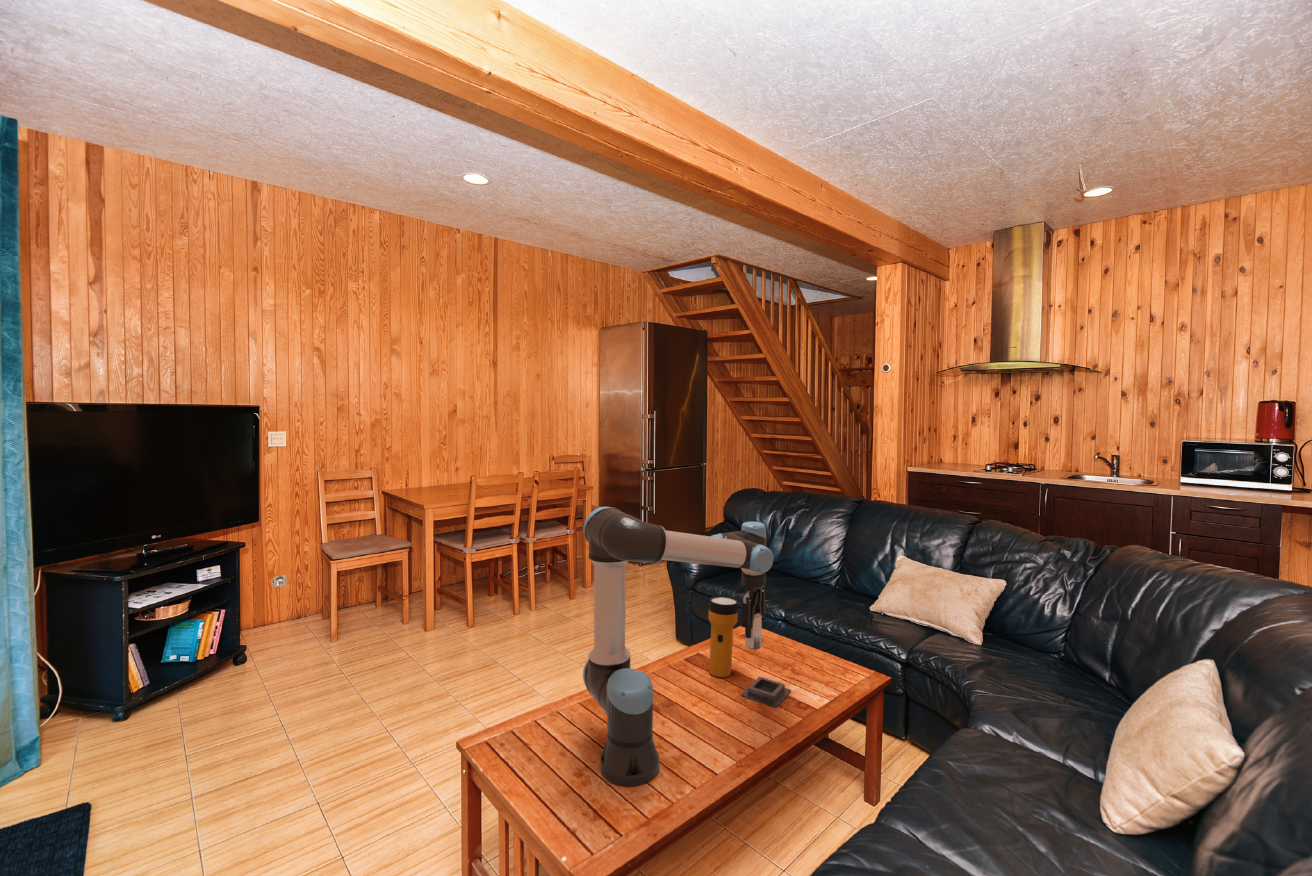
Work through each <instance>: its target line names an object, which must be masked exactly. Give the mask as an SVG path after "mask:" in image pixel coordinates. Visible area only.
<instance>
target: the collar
mask: <svg viewBox="0 0 1312 876" xmlns="http://www.w3.org/2000/svg"><path fill="white" fill-rule="evenodd" d="M791 692H792V689H790V688H787V687H786V684H785V683H781V682H779V681H775V680H771V679H769V678H766V677H763V676H758V677H757V678H756V679H755V680H754V681H753V682H751V684H750V685H749V686H748V687H747V688H746V689H745V690H744V691H742V693H741V694H740V696H741V697H743V698H746V699H748V700H752V701H754V702H758V703H761V704H762V705H763V704H764V705H767V706H769V707H772V708H775V709H776V708H778V707H779V706H780V704H782V702H783V701H784V700H785V699H786V698H787V697H788V696H789V694H790V693H791Z"/></svg>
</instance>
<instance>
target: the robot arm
mask: <svg viewBox="0 0 1312 876" xmlns="http://www.w3.org/2000/svg"><path fill="white" fill-rule="evenodd" d="M582 533H583V536H584V539H585V540H586V542H587V543H588V560H589V561H590V562H591V563H592V564H593V567H594V568H593V571H594V573H593V576H594V577H593V578H594V579H593V581H594V582H593V585H594V587H593V588H594V592H593V601H594V602H593V606H594V607H593V621H594V622H593V648H592V649H591V650H590V651H589V653H588V655H587V656H588V660H587V661H586V662H585V664H584V666H583V670H582V678H583V684H584V685H585V688H586V690H587V692H588V693H589V694H590V696H592V697H593V698H594V700H595V701H596V702H597V704H598V705H599V707H600V708H601V709H602V711H604V713H605V714H606V719H607V721H606V722H607V724H606V725H607V726H606V728H607V730H606V732H607V735H606V736H607V737H606V741H605V743H604V747H603V750H602V751H601V752H602V753H601V757H600V764H599V765H600V767H599V768H600V772H601V775H602V777H604V779H606V781H608V782H610V783H612V784H615V785H618V786H623V787H635V786H636V787H637V786H641V785H644V784H646V783H648V782H650V781H651V780H652V779H654V778H655V777H656V776H657V774H658V773H659V770H660V755H659V752H658V751H657V748H656V745H655V741H654V737H653V732H654V731H653V730H654V729H653V728H654V723H653V722H654V721H653V720H654V696H655V695H654V686H653V681H652V680H651V678H650V677H649V676H648V674H646V672H643V671H642V670H637V669H635V668H631V652H630V650H629V649H628V648H627V647H626V567H627V563H628V562H636V563H637V562H638V563H639V562H640V563H650V564H651V563H653V564H658V563H660V562H661V561H672V562H673V561H674V562H678V563H679V562H681V563H691V564H698V565H699V564H700V565H710V566H716V567H717V566H719V567H729V568H737V569H741V584H742V585H743V586H745V592H744V596H743V595H741V596H740V603H741V614H740V615H741V618H740V619H741V620H740V622H741V623H740V624H741V625H740V626H741V627H742V628H744V647H745V648H747V647H749V648H754V627H753V618H754V611H757V612H759V613H760V614H761V635H762V634H763V633H762V626H763V625H762V622H765V620H766V618H765V616H766V590H767V589H766V588H767V587H766V583H767V573H766V572H768V571H769V570H770V569H771V568H772V567H773V562H774V553H773V551H772V550H771V549H770V548H769V547H767V538H768V537H767V528H766V525H765V524H764V523H763V522H759V521H746V522H743V523H742V524H741V530H739V531H731V532H724V533H721V532H720V533H718V534H713V535H710V536H707V535H702V534H701V535H700V534H695V533H694V534H693V533H686V532H682V531H681V532H679V531H672V530H666V529H665V528H664V527H663V526H662V525H659V524H652V523H649V522H645V521H643V520H641V519H639V518H636V517H635V516H633V515H630V514H627V513H626V512H623V511H621V510H620V509H618V508H616V507H610V506H601V507H597V508H595V509H593V510H592V511H591V512H590V513H589V514H588V516H587V517H586V518H585V520H584V523H583V528H582ZM749 648H748V649H749Z"/></svg>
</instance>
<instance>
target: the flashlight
mask: <svg viewBox="0 0 1312 876" xmlns="http://www.w3.org/2000/svg"><path fill="white" fill-rule="evenodd" d="M738 615H739V600H738V599H737V598H735V597H733V596H729V595H713V596H711V597H709V601H708V621H709V623H710V625H711V627H710V644H709V646H710V649H709V670H708V671H709V674H710V675H712V676H714V677H718V678H728V677H730V676H731V672H732V659H733V642H734V641H733V638H734V636H733V635H734V626H735V625H736V624H737V623H738V618H739V616H738Z"/></svg>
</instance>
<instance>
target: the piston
mask: <svg viewBox="0 0 1312 876" xmlns="http://www.w3.org/2000/svg"><path fill="white" fill-rule="evenodd" d="M761 621H762V620H761V614H760V613H759V612H757V611H754V618H753V627H754V648H749V647H746V648H747V649H749V650H754V651H755V650H759V649H761V648H762V634H761Z"/></svg>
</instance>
